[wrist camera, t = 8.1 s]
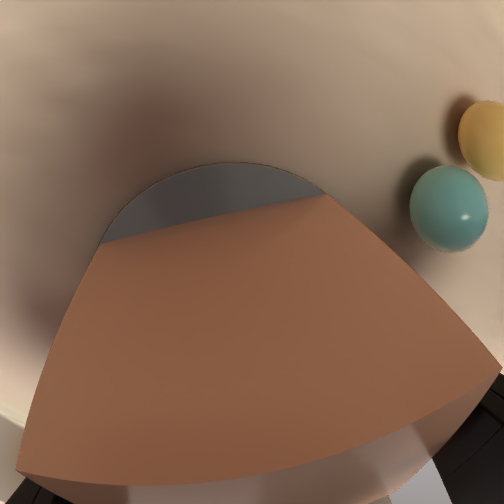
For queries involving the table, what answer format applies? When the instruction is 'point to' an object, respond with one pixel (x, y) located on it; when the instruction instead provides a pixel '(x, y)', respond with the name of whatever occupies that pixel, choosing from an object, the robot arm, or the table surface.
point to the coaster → (207, 196)
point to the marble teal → (449, 209)
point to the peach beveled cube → (250, 367)
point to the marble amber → (483, 139)
